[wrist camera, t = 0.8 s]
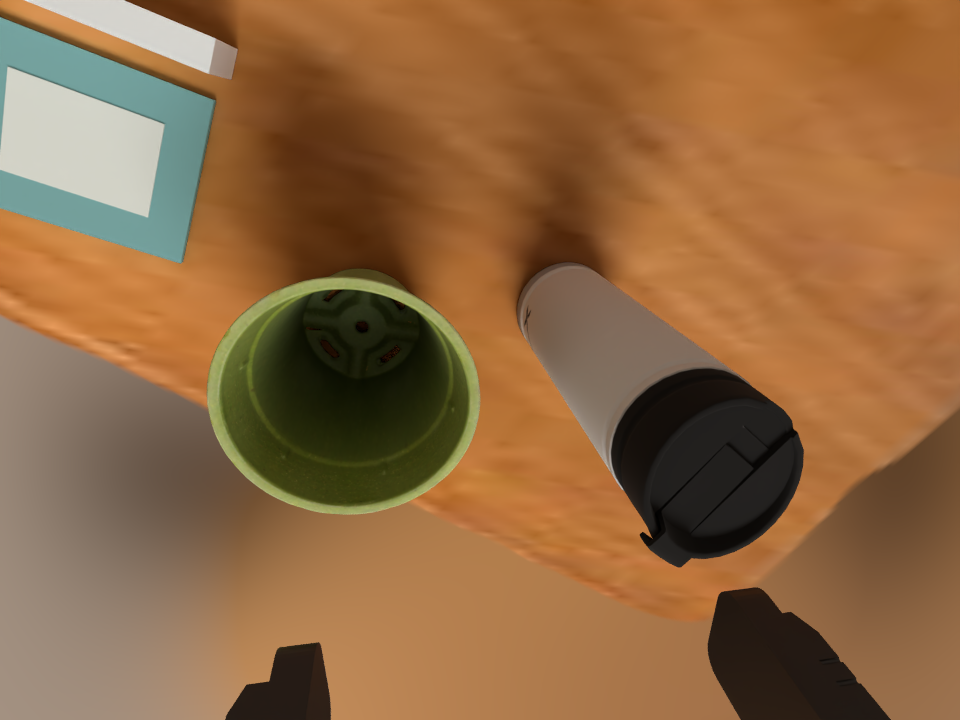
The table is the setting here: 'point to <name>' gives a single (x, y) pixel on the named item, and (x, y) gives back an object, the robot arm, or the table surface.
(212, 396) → the plant pot
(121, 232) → the resting pad
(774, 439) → the travel mug
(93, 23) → the divider wall
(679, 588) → the table surface
